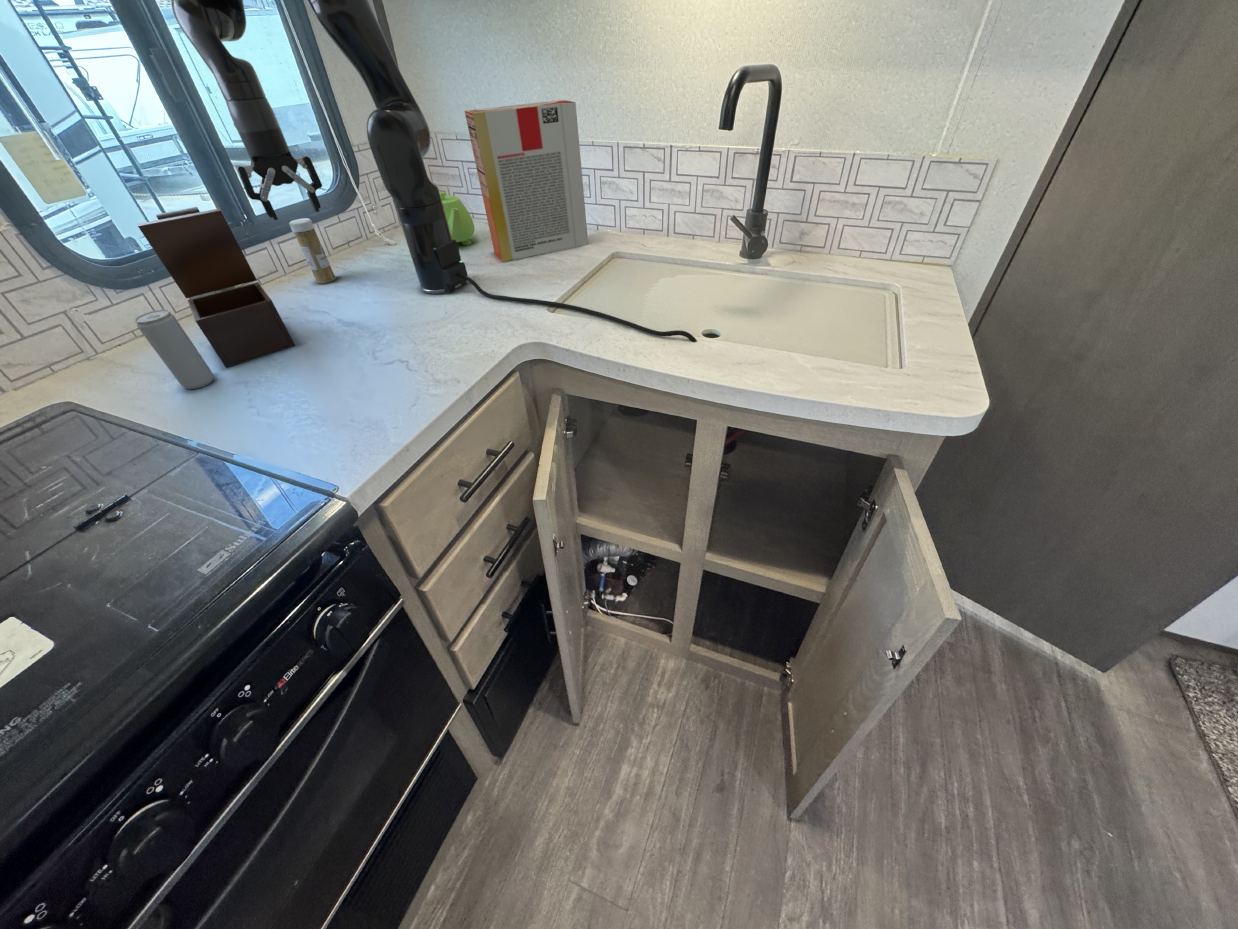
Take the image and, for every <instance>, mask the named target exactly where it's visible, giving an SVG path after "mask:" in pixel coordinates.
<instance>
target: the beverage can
mask: <svg viewBox="0 0 1238 929" xmlns="http://www.w3.org/2000/svg"><path fill="white" fill-rule="evenodd" d="M134 323H135V324H136V327H137V328H138V329H139V331H140V333H141V334H142V335H143V337H144V338H145V339H146V340H147V342H148V344H150V346H151V347H152V348H153V350H154V351H155V352H156V354H157V355H158V356H159V358H160V360H162V362H163V363H164V365H165V366H166V367H167V369H168V370H169V372H170V373H171V374H172V375H173V377H174V378H175V380H176V381H177V382H178V384H179V385H180V386H181V387H182V388H184V389H188V390H196V389H200V388H204V387H207V386H208V385H210V384H212V383H213V381H214V378H215V375H214V373H213V371H212V370H211V369H210V367H209V366H208V364H207V362H206V361H205V360H204V358H203V356H202V355H201V354H200V352H199V351H198V349H197V347H196V346H195V345H194V343H193V342H192V340H191V338H190V337H189V336H188V334H187V333H186V331H185V329H184V328H183V327H182V326H181V324H180V322H179V321H178V320H177V317H176V316H175V315H174V314H173V313H171V311H170V310H169V309H157V310H151V311H148V312H145V313H142V314H140V315H139V316H137V317H136V318H135V319H134Z"/></svg>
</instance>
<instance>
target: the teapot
mask: <svg viewBox="0 0 1238 929" xmlns="http://www.w3.org/2000/svg"><path fill="white" fill-rule="evenodd" d="M439 191H440V190H439ZM440 195H441V199H442V202H443V206H444V210H445V214H446V218H447V222H448V225H449V229H450V233H451V237H452V239H455V240H456V242H457V243H461V244H462V246H469V245H471V244H472V241H471V240H470V239H472V238H473V236H474V234H475V229H476V228H475V224H474V221H473V218H472V215H471V213H470V212H469V210H468V208H467V207H466V206H465V204H464V203H463V202H462V200H461V199H460V198H459V197H458V196H455V195H451V194H449V195H448V194H447V195H446V192H445V191H443V190H442V191H440Z"/></svg>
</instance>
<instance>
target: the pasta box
mask: <svg viewBox="0 0 1238 929" xmlns="http://www.w3.org/2000/svg"><path fill="white" fill-rule="evenodd" d="M576 103H577V102H576V101H571V100H565V99H558V100H548V101H539V102H532V103H522V104H513V105H511V104H510V105H503V106H494V107H486V108H485V107H484V108H478V109H477V108H475V109H466V110H464V115H465V120H466V124H467V131H468V134H469V135H468V136H469V139H470V144H471V148H472V153H473V158H474V163H475V168H476V173H477V177H478V182H479V187H480V190H481V196H482V201H483V205H484V210H485V215H486V219H487V225H488V229H489V234H490V239H491V244H492V247H493V253H494V254H495V255H496V257H497V258H498V259H499V260H500V261H501V262H502V263H504V262H509V261H514V260H519V259H523V258H528V257H533V256H538V255H543V254H544V255H545V254H548V253H553V252H557V251H564V250H567V249H568V250H569V249H573V248H578V247H583V246H587V245H589V236H588V225H587V214H586V203H585V190H584V183H583V182H584V181H583V180H584V179H583V170H582V161H581V160H582V158H581V148H580V137H579V136H580V135H579V127H578V126H579V124H578V115H577V114H578V113H577V104H576Z"/></svg>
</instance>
